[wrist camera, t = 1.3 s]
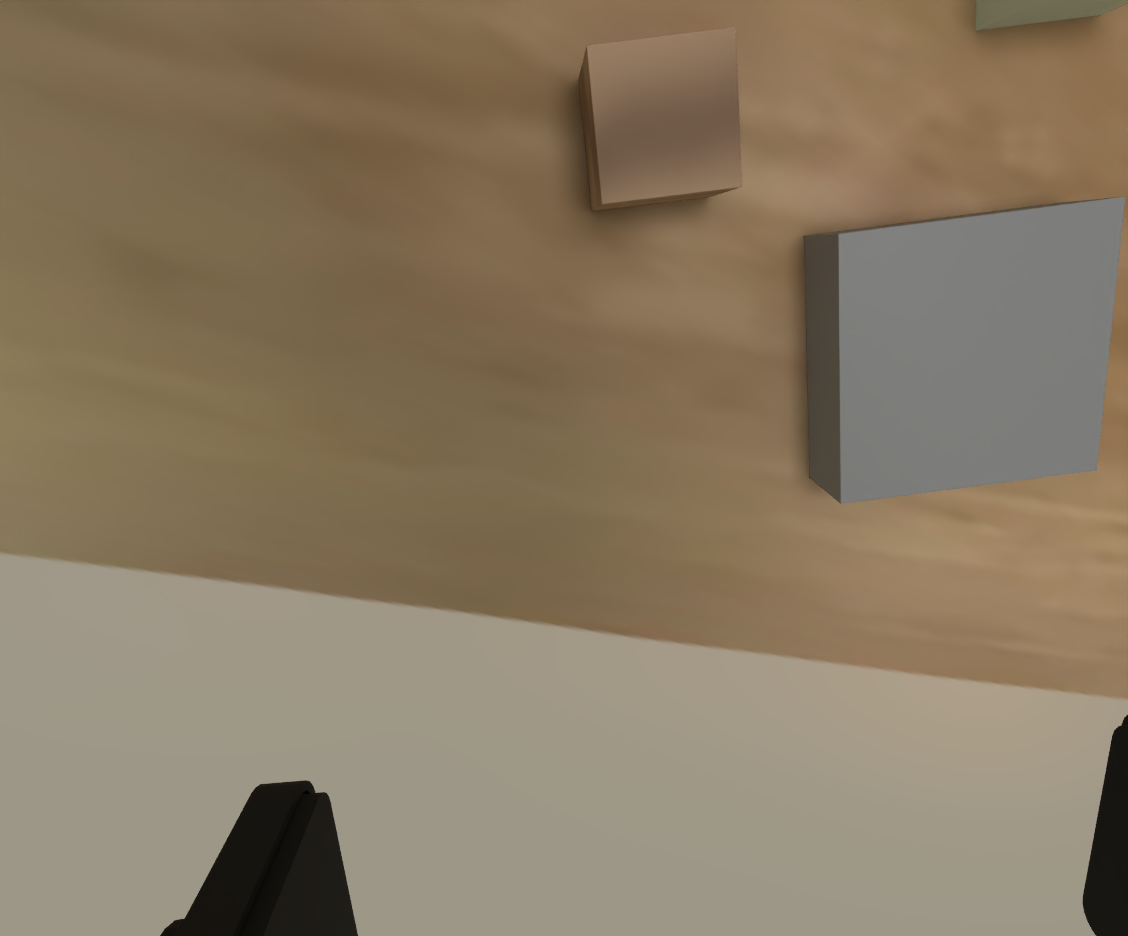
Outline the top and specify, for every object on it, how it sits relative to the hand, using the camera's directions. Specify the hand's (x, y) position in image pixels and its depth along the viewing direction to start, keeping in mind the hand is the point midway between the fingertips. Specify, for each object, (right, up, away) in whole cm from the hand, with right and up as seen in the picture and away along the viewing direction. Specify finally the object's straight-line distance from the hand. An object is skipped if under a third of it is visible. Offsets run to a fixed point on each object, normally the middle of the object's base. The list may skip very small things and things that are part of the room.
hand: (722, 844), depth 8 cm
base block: (+15, +10, +24) cm, 30 cm away
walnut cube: (+1, +18, +21) cm, 27 cm away
